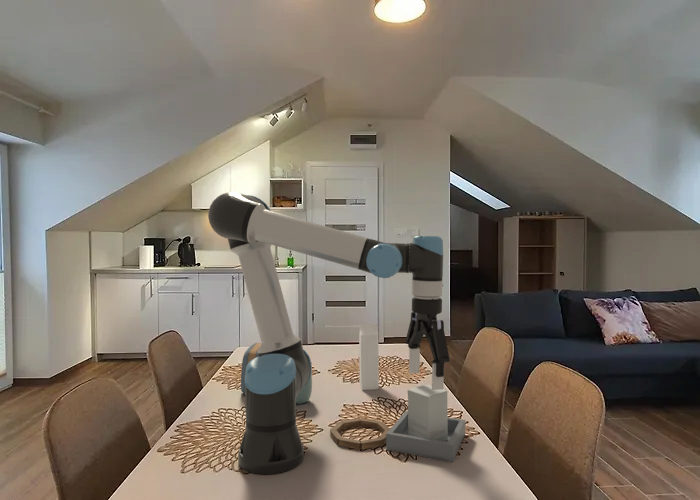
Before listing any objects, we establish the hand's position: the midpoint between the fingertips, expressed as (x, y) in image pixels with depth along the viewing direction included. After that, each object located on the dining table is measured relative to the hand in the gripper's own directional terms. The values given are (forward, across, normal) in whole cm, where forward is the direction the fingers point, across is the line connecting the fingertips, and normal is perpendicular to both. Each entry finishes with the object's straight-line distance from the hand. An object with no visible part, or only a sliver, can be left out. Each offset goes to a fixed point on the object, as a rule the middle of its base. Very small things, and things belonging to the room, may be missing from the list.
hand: (425, 380), depth 118 cm
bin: (+16, 0, -1) cm, 16 cm away
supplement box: (+15, 0, -1) cm, 15 cm away
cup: (+17, +38, +25) cm, 49 cm away
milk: (+16, +45, -1) cm, 48 cm away
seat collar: (+16, +8, +14) cm, 23 cm away
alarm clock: (+17, +55, +33) cm, 67 cm away
